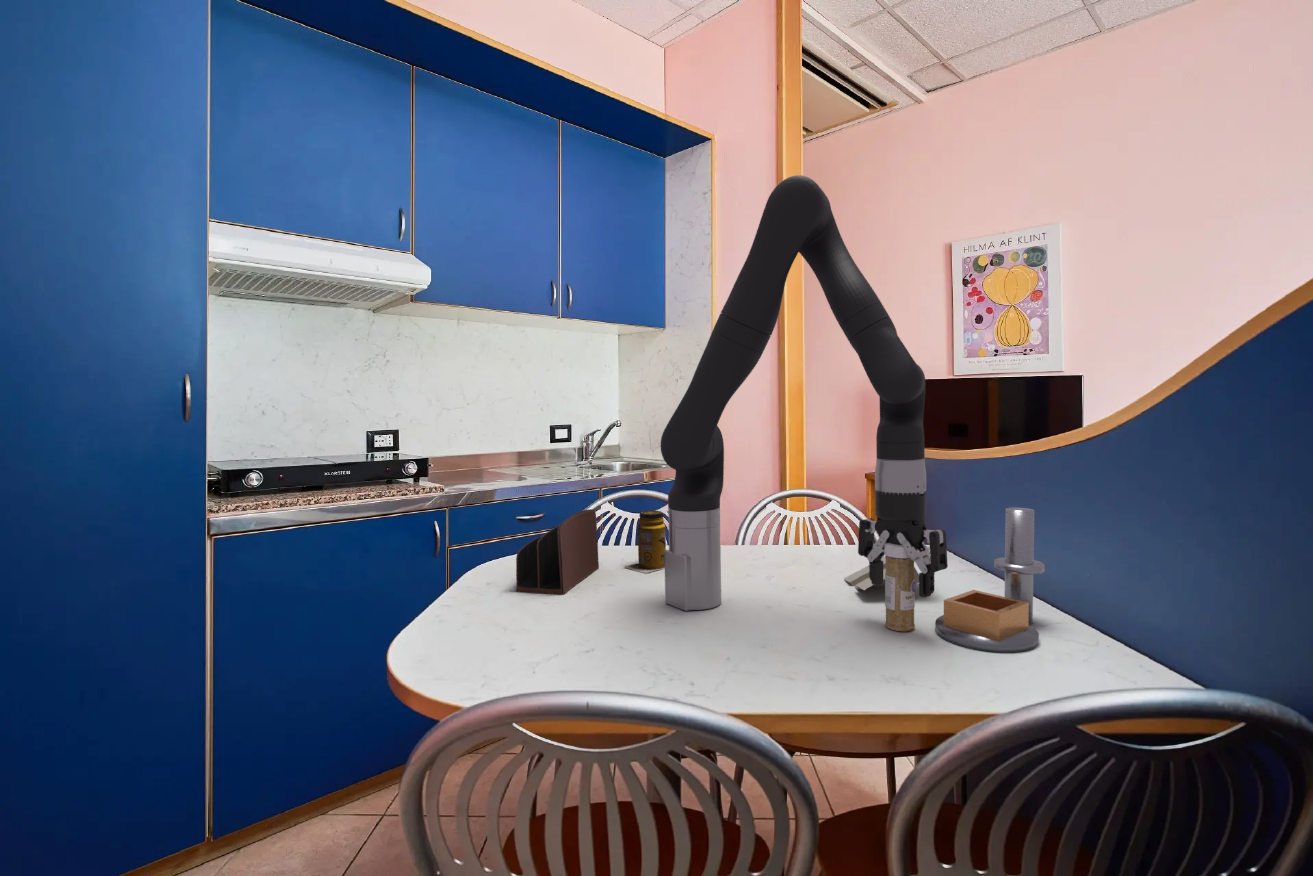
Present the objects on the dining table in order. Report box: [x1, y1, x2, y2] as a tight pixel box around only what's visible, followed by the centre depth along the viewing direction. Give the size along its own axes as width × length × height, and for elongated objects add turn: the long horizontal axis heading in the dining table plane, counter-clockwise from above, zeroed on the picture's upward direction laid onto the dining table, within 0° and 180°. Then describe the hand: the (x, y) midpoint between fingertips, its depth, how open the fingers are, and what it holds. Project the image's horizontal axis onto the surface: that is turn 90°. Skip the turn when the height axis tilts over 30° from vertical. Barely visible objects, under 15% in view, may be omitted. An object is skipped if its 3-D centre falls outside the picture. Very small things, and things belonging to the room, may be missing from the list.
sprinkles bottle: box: [884, 543, 916, 632], centre depth 104 cm, size 5×5×13 cm
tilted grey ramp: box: [843, 545, 930, 591], centre depth 125 cm, size 16×9×15 cm
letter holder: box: [515, 508, 600, 596], centre depth 136 cm, size 10×20×14 cm, turn 165°
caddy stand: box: [934, 507, 1046, 654], centre depth 102 cm, size 20×14×18 cm
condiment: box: [623, 510, 667, 574], centre depth 145 cm, size 7×8×12 cm
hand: (900, 590), depth 104 cm, fingers open, 8 cm apart
